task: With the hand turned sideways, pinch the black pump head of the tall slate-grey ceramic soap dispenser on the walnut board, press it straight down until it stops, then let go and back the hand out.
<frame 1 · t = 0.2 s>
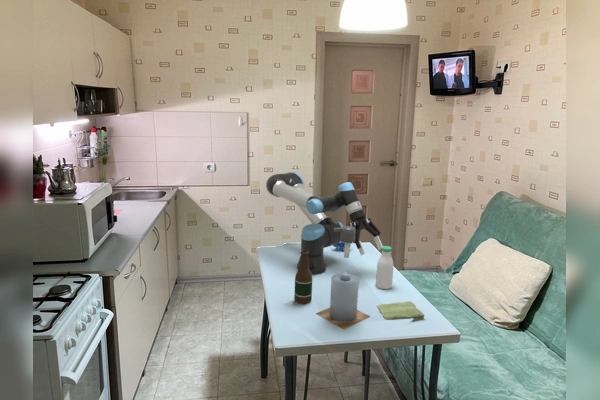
hand: (372, 251, 207), 15 cm above the table, tool tilted 35°, fingers open, 13 cm apart
beer bottle: (302, 303, 186), on the table
pump plunger: (344, 243, 166), point 33 cm above the table, slide at 7.0 cm
grapes: (342, 250, 252), on the table
walnut board: (342, 317, 174), on the table
washcloth: (399, 315, 179), on the table
soap dispenser: (343, 314, 174), resting on walnut board
milk bottle: (383, 286, 205), on the table
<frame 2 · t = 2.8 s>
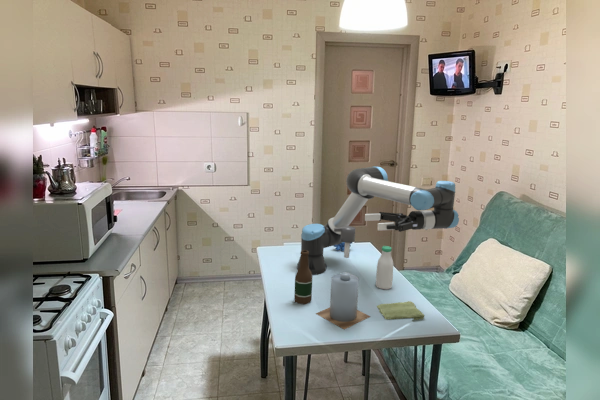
hand: (371, 222, 167), 41 cm above the table, tool horizontal, fingers open, 13 cm apart
nothing on the table moved.
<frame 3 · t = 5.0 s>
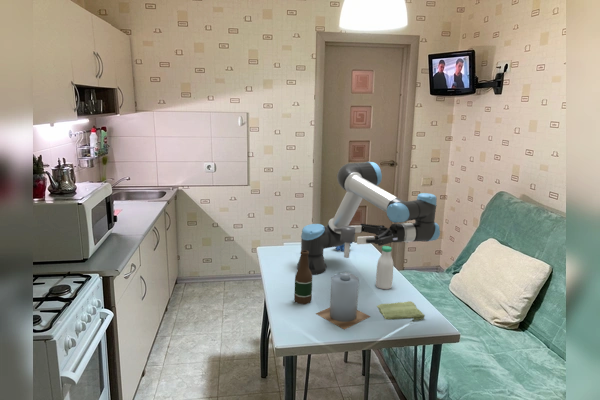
hand: (351, 234, 165), 36 cm above the table, tool horizontal, fingers open, 13 cm apart
nothing on the table moved.
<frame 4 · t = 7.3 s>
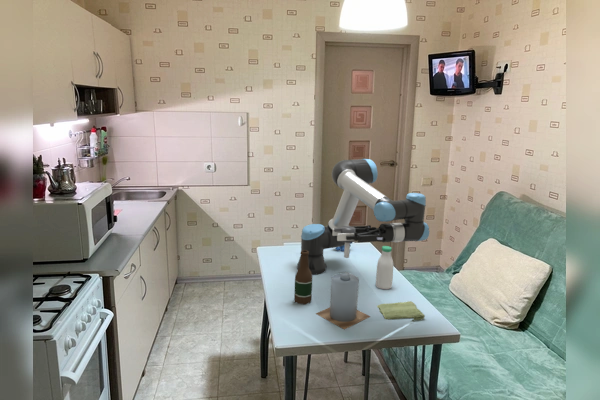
hand: (335, 234, 164), 36 cm above the table, tool horizontal, fingers closed on pump plunger, 6 cm apart
pump plunger: (344, 243, 166), point 33 cm above the table, slide at 7.0 cm, touching gripper
everything else where it was.
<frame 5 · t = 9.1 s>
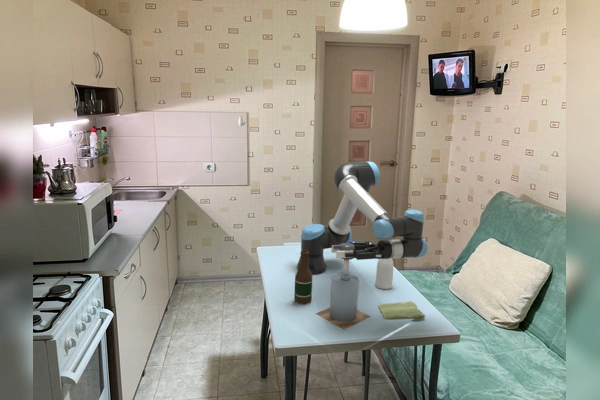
hand: (334, 251, 166), 29 cm above the table, tool horizontal, fingers closed on pump plunger, 6 cm apart
pump plunger: (343, 259, 167), point 25 cm above the table, slide at -0.1 cm, touching gripper
everything else where it was.
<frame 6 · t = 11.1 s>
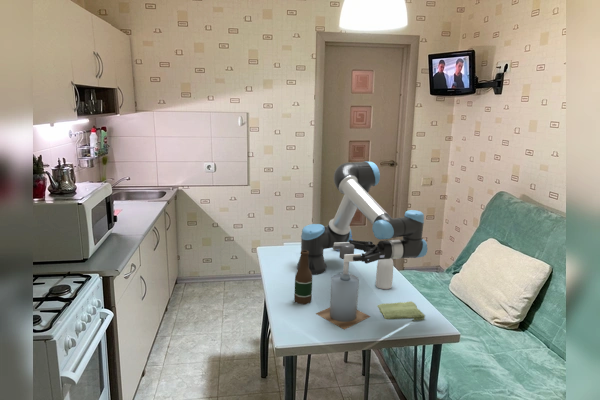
hand: (338, 251, 167), 29 cm above the table, tool horizontal, fingers open, 13 cm apart
pump plunger: (343, 260, 167), point 25 cm above the table, slide at -0.1 cm
everything else where it was.
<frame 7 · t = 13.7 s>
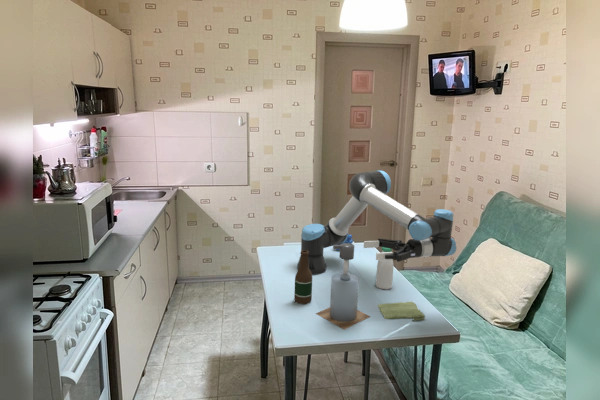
hand: (369, 250, 169), 29 cm above the table, tool horizontal, fingers open, 13 cm apart
nothing on the table moved.
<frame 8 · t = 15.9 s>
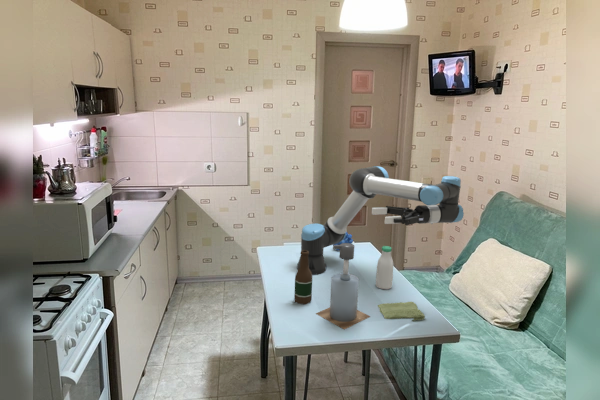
hand: (378, 215, 171), 42 cm above the table, tool horizontal, fingers open, 13 cm apart
nothing on the table moved.
at the end: pump plunger slide at -0.1 cm; the gripper is holding nothing; beer bottle moved 0.2 cm from its start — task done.
